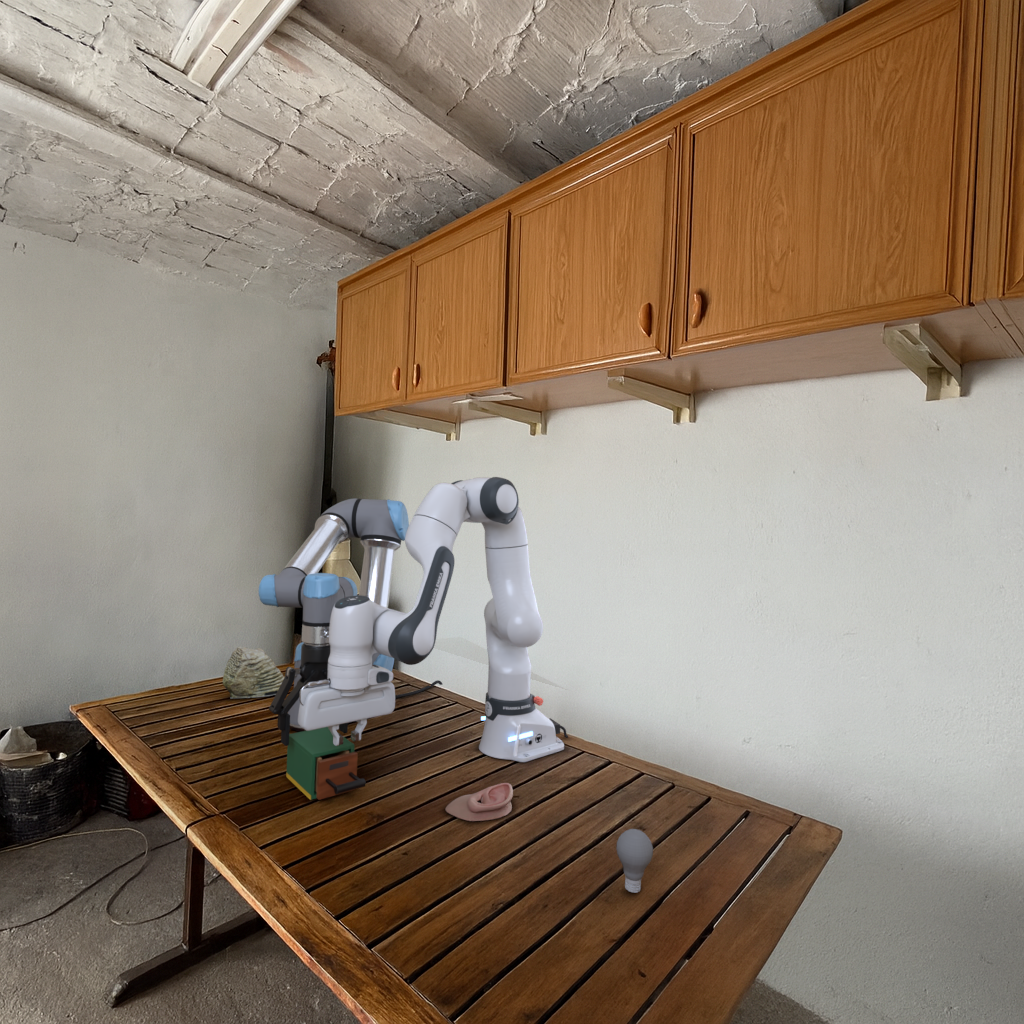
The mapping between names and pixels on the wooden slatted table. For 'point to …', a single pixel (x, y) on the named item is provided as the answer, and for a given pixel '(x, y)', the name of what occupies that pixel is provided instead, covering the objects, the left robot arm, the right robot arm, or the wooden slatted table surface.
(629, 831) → the light bulb
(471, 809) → the anatomical model
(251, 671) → the fossil
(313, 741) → the cabinet
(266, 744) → the wooden slatted table surface
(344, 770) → the drawer
